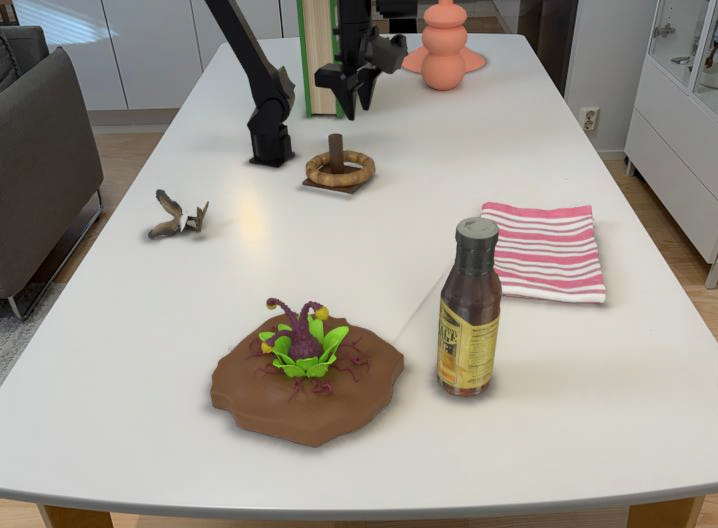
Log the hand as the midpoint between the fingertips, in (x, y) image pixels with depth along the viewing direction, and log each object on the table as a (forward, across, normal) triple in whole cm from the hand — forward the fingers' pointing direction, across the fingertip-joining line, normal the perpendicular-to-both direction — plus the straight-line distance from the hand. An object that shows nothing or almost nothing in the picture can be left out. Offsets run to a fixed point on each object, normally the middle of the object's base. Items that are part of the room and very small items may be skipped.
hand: (358, 115), depth 122 cm
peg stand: (+8, -10, -1) cm, 13 cm away
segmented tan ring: (+6, -9, -1) cm, 11 cm away
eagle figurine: (+8, -37, +12) cm, 40 cm away
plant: (+8, -58, -24) cm, 63 cm away
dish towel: (+8, -21, -40) cm, 45 cm away
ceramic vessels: (+8, +55, +7) cm, 56 cm away
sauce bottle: (+8, -50, -40) cm, 65 cm away
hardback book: (+8, +24, +20) cm, 32 cm away
